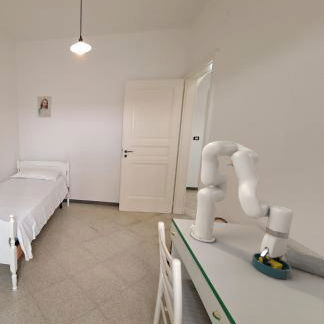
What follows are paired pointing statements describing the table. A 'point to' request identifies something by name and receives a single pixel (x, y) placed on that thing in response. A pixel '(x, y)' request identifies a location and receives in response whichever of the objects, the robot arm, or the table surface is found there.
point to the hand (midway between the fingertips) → (270, 267)
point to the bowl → (270, 271)
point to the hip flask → (305, 262)
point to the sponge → (273, 263)
